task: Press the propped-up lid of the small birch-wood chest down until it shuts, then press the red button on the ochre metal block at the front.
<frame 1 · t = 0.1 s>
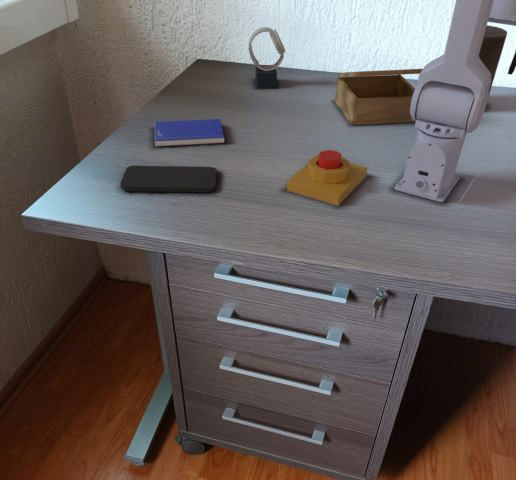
hand: (488, 69, 96), 10 cm above the table, tool pointing down, fingers open, 7 cm apart
pillar candle: (461, 104, 111), on the table
blue hardcover book: (189, 137, 98), on the table
phone: (170, 182, 85), on the table
lid: (381, 73, 102), point 7 cm above the table, hinge at 18.0°
button block: (327, 183, 85), on the table
watch: (266, 84, 118), on the table
chest: (374, 111, 107), on the table
button: (329, 160, 83), point 4 cm above the table, slide at 0.1 cm
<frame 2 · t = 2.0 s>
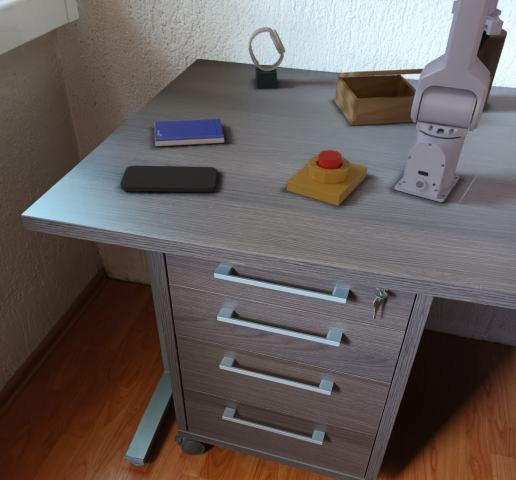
hand: (462, 69, 95), 10 cm above the table, tool pointing down, fingers closed
nothing on the table moved.
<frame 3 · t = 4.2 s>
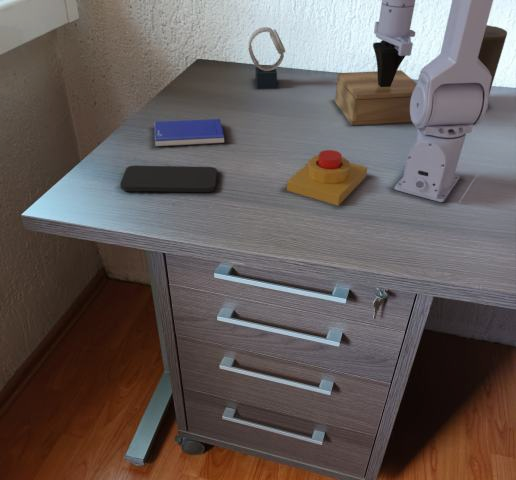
hand: (384, 85, 101), 6 cm above the table, tool pointing down, fingers closed, pressing on lid
lid: (380, 84, 103), point 5 cm above the table, hinge at 1.3°, touching gripper
everything else where it was.
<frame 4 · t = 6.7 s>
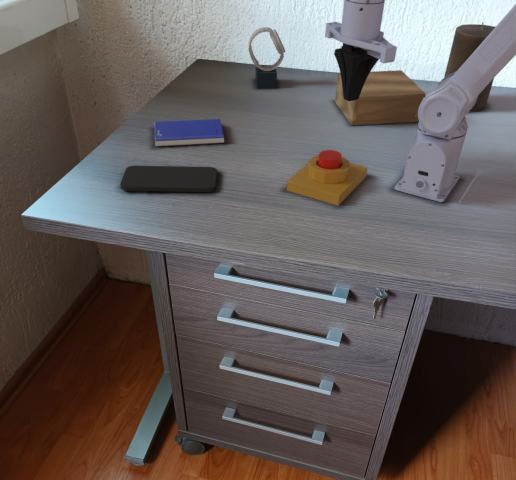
hand: (350, 99, 84), 10 cm above the table, tool pointing down, fingers closed
lid: (379, 85, 103), point 5 cm above the table, hinge at -0.2°, touching chest
everything else where it was.
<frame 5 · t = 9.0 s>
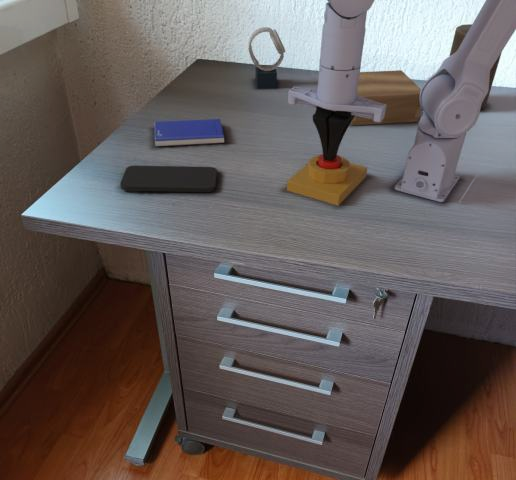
hand: (329, 158, 82), 4 cm above the table, tool pointing down, fingers closed, pressing on button
button: (329, 163, 83), point 3 cm above the table, slide at -0.4 cm, touching gripper
everything else where it was.
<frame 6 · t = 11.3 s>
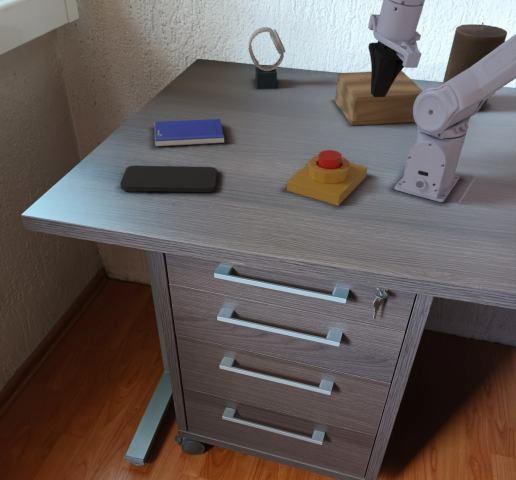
hand: (377, 95, 85), 11 cm above the table, tool pointing down, fingers closed
button: (329, 160, 83), point 4 cm above the table, slide at 0.1 cm
everything else where it was.
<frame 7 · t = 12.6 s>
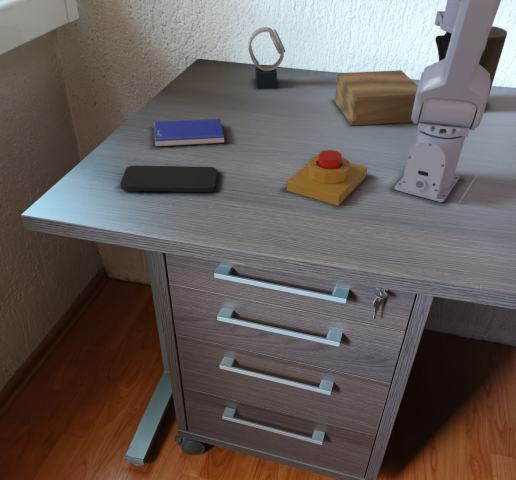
hand: (445, 85, 89), 10 cm above the table, tool pointing down, fingers closed
nothing on the table moved.
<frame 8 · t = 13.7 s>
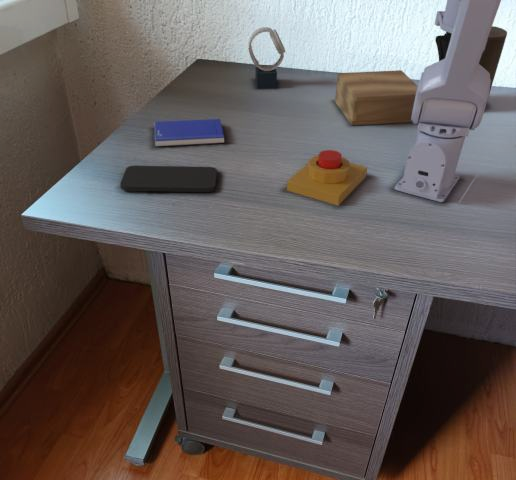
hand: (445, 85, 89), 10 cm above the table, tool pointing down, fingers closed
nothing on the table moved.
at the end: lid at +0° (first picture: +18°); button pushed in 1.2 cm at the most during the clip, back to where it started at the end; button slide at 0.1 cm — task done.
